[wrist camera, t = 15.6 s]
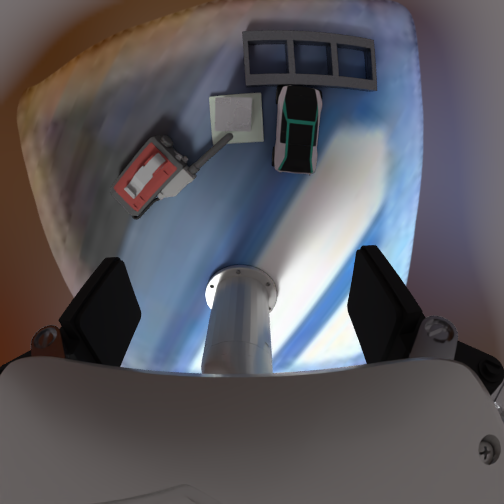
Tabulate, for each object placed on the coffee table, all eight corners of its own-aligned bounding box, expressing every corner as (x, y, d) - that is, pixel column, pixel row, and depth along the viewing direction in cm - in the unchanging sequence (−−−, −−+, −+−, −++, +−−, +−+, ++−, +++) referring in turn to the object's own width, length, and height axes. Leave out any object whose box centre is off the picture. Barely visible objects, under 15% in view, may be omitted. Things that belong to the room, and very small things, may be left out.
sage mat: (263, 141, 36) (263, 141, 35) (213, 144, 36) (213, 145, 36) (260, 93, 32) (261, 92, 32) (209, 97, 33) (209, 96, 32)
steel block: (251, 128, 34) (250, 131, 28) (221, 127, 34) (214, 131, 28) (252, 100, 32) (251, 97, 26) (222, 99, 32) (215, 97, 26)
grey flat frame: (366, 43, 28) (373, 39, 25) (370, 91, 31) (377, 90, 29) (243, 36, 28) (242, 31, 26) (246, 87, 32) (245, 85, 30)
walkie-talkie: (148, 225, 42) (238, 138, 35) (137, 237, 38) (235, 142, 31) (111, 188, 39) (195, 94, 32) (98, 198, 35) (187, 93, 28)
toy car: (271, 166, 38) (273, 174, 33) (276, 85, 32) (279, 81, 28) (311, 169, 38) (319, 178, 33) (318, 90, 32) (327, 87, 28)
